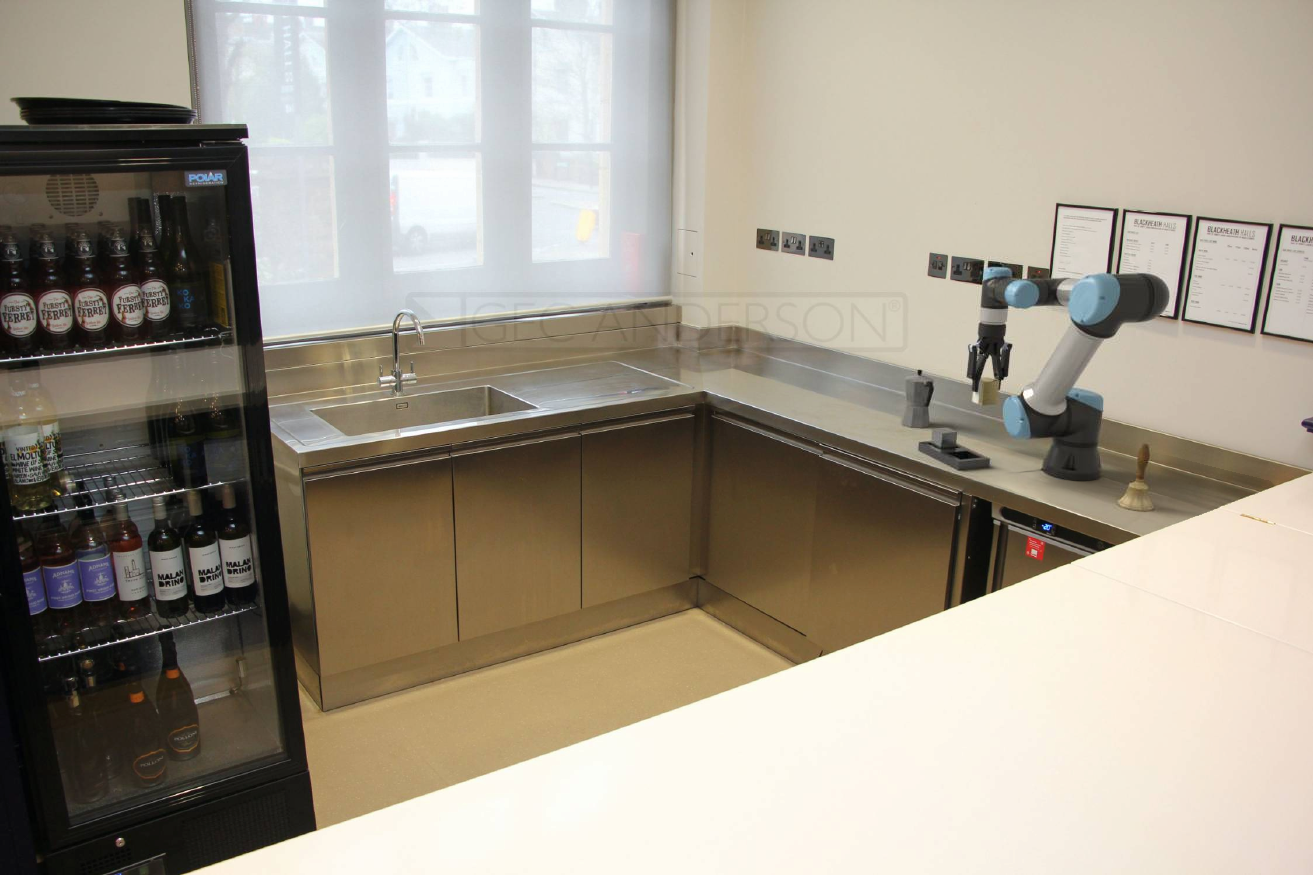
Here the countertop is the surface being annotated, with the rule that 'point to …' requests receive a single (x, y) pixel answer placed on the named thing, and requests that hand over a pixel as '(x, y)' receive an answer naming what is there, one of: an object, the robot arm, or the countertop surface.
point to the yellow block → (988, 391)
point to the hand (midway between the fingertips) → (984, 401)
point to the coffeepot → (917, 400)
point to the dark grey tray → (955, 456)
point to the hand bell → (1138, 486)
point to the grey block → (943, 438)
